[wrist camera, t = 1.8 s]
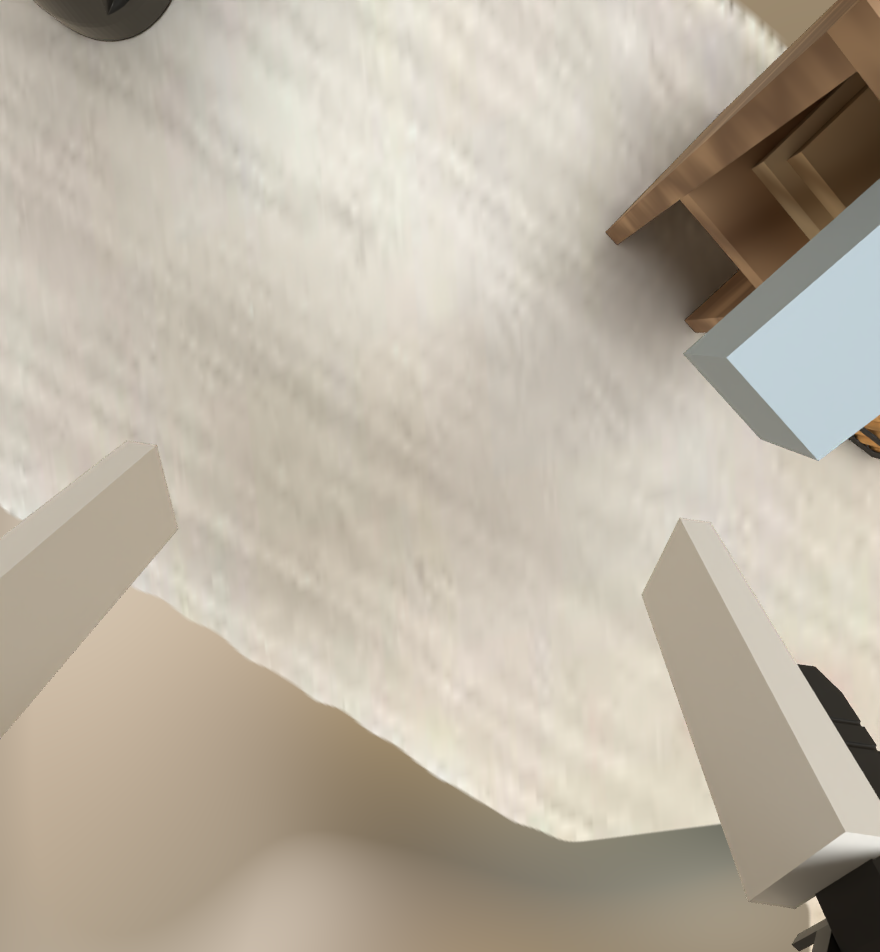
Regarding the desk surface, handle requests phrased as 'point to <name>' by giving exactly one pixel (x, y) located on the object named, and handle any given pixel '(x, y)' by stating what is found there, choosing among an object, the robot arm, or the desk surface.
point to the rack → (780, 155)
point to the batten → (807, 340)
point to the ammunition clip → (869, 438)
